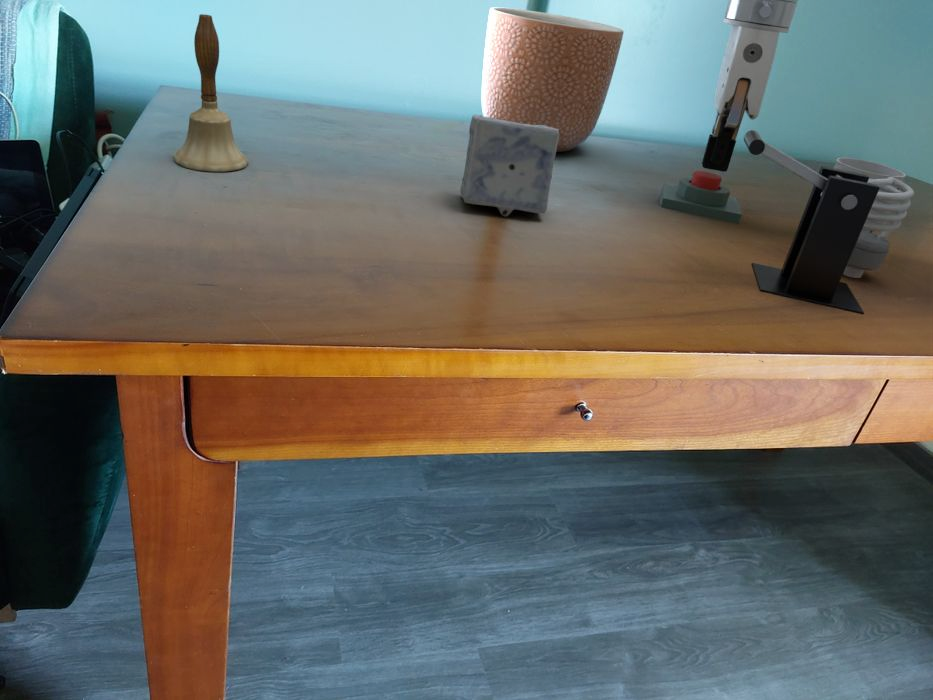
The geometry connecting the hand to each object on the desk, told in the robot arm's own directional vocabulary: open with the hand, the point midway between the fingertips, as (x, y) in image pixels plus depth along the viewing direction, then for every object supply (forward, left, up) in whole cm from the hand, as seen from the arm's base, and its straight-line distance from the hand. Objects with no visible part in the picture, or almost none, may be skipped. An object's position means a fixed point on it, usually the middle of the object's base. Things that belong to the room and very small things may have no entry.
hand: (713, 168), depth 95 cm
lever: (-5, +23, +5) cm, 24 cm away
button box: (0, 0, -6) cm, 6 cm away
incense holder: (+24, +15, -7) cm, 30 cm away
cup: (-19, -2, -7) cm, 20 cm away
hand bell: (+58, +22, -7) cm, 63 cm away
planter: (+26, -23, -7) cm, 35 cm away
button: (0, 0, -3) cm, 3 cm away
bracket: (-10, +23, -6) cm, 26 cm away
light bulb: (-16, +15, -7) cm, 23 cm away
